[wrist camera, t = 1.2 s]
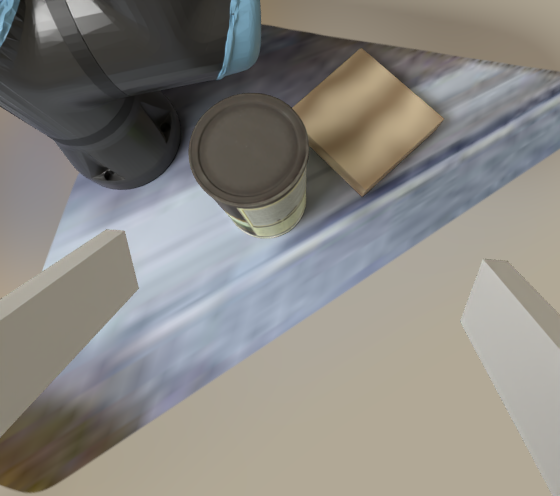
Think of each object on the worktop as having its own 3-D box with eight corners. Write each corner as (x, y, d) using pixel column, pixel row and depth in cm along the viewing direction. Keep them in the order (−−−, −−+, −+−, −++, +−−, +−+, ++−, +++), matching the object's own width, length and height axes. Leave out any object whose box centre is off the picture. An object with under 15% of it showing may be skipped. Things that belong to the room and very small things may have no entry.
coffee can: (218, 230, 40) (173, 193, 26) (237, 156, 42) (205, 83, 28) (297, 247, 39) (294, 216, 25) (314, 170, 40) (320, 101, 27)
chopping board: (287, 124, 42) (286, 113, 39) (357, 62, 42) (361, 47, 40) (362, 197, 39) (366, 190, 37) (435, 130, 40) (444, 118, 38)
